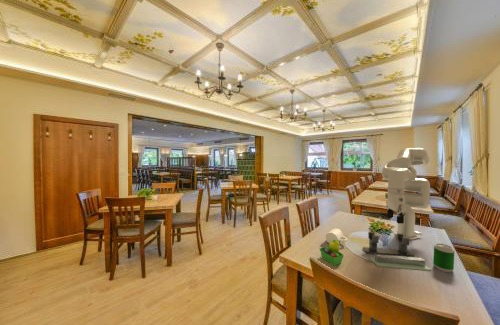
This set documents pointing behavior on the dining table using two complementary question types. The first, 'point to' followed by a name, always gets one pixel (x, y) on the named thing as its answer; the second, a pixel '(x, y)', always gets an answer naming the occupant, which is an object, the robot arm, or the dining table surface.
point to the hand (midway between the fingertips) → (394, 220)
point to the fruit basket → (332, 253)
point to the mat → (400, 265)
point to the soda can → (443, 257)
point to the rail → (400, 260)
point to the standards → (393, 252)
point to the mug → (335, 236)
